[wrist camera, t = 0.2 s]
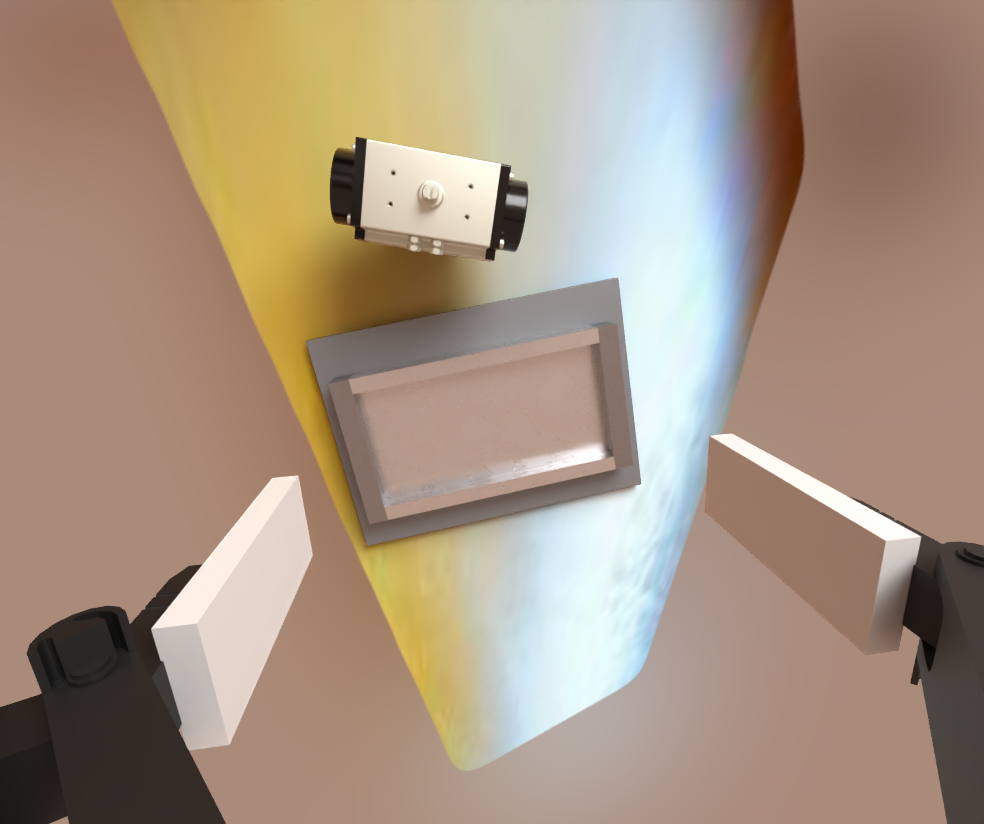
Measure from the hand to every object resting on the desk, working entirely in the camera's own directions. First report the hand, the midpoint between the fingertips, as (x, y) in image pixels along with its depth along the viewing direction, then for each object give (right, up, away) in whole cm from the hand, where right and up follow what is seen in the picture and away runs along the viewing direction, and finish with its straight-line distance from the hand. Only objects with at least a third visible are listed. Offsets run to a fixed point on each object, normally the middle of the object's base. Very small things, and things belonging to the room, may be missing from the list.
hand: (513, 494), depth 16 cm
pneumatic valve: (-5, +18, +24) cm, 30 cm away
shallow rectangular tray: (-1, +2, +28) cm, 28 cm away
